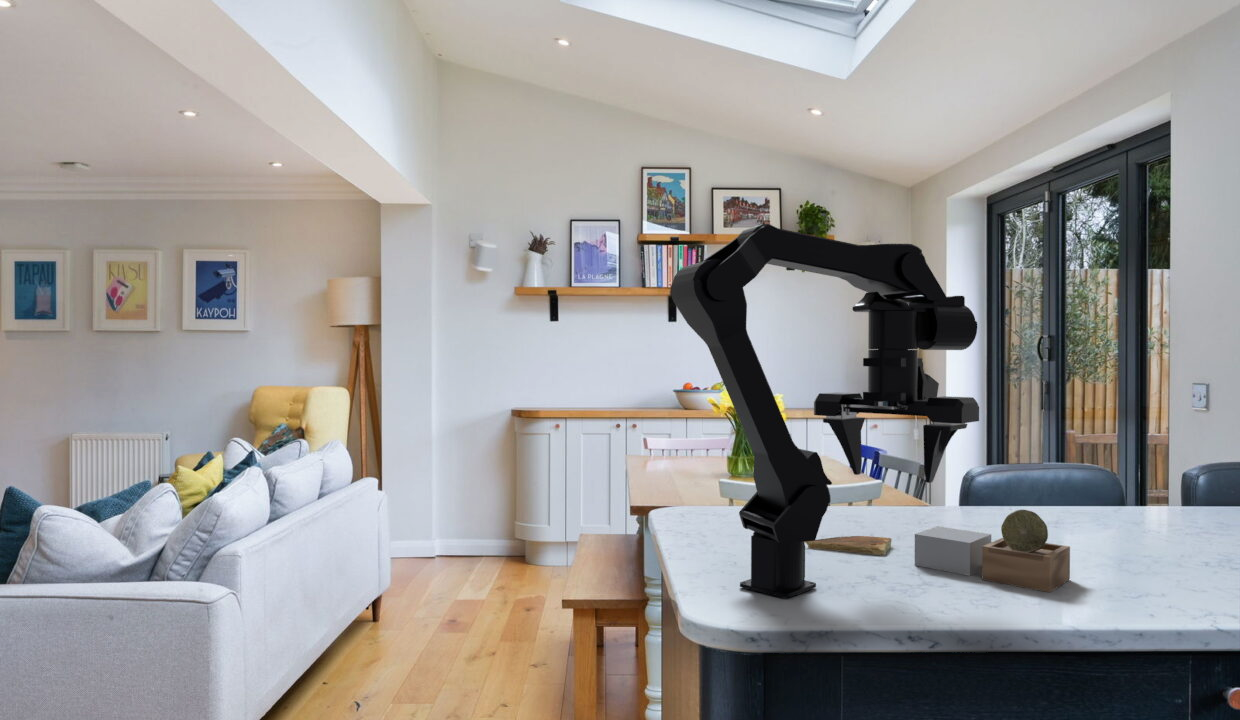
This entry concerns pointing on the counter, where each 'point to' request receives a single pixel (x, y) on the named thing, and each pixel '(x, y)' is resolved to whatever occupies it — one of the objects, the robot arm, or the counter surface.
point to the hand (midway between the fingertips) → (892, 478)
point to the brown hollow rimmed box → (1026, 566)
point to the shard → (854, 544)
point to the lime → (1024, 531)
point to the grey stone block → (950, 549)
